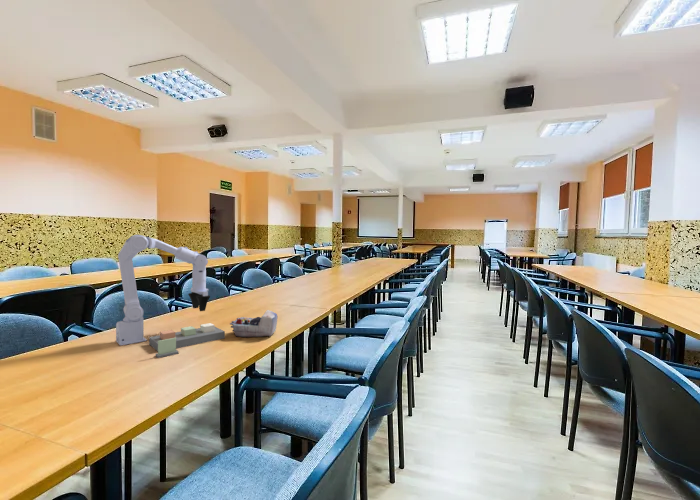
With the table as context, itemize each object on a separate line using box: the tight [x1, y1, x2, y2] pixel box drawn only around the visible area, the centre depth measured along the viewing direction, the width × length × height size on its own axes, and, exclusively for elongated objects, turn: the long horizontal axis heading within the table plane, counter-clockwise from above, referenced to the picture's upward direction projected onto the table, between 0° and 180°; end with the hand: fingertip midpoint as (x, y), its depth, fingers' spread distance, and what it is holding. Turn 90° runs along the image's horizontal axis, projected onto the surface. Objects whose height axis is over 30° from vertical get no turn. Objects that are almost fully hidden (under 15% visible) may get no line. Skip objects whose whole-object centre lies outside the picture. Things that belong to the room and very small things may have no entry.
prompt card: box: [155, 338, 179, 359], centre depth 126 cm, size 7×3×6 cm, turn 135°
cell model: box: [229, 309, 278, 338], centre depth 154 cm, size 13×11×20 cm
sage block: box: [180, 325, 197, 337], centre depth 142 cm, size 4×4×4 cm
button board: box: [148, 326, 226, 352], centre depth 142 cm, size 26×12×3 cm, turn 135°
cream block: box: [199, 322, 216, 333], centre depth 148 cm, size 4×4×4 cm
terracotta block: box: [159, 329, 176, 340], centre depth 136 cm, size 4×4×4 cm
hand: (198, 309), depth 156 cm, fingers open, 7 cm apart
